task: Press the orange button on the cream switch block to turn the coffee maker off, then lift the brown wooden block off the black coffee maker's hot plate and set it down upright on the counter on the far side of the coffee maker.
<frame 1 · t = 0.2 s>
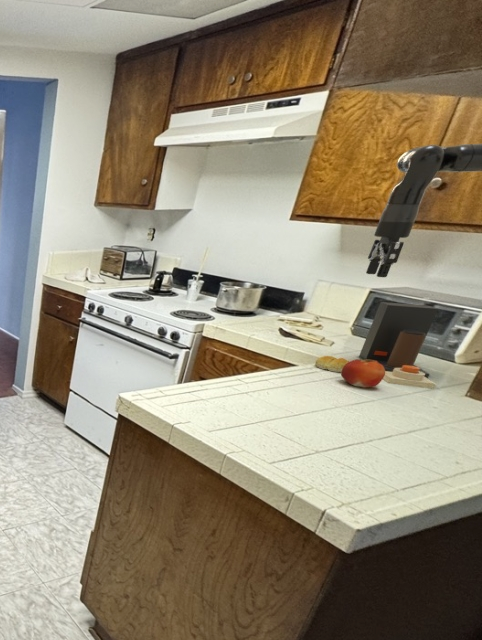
hand: (375, 275, 146), 30 cm above the counter, tool pointing down, fingers open, 8 cm apart
bread roll: (332, 369, 153), on the counter
coffee maker: (392, 369, 154), on the counter
tomato: (357, 385, 139), on the counter
power button: (410, 369, 141), point 4 cm above the counter, slide at 0.1 cm
brown wooden block: (398, 366, 151), point 2 cm above the counter, touching coffee maker
switch block: (404, 382, 142), on the counter
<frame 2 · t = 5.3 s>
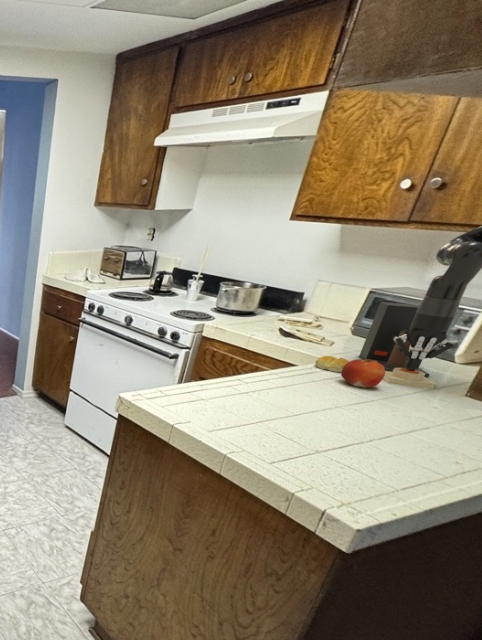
hand: (409, 369, 141), 4 cm above the counter, tool pointing down, fingers closed
power button: (408, 372, 141), point 3 cm above the counter, slide at -0.8 cm, touching gripper
everything else where it was.
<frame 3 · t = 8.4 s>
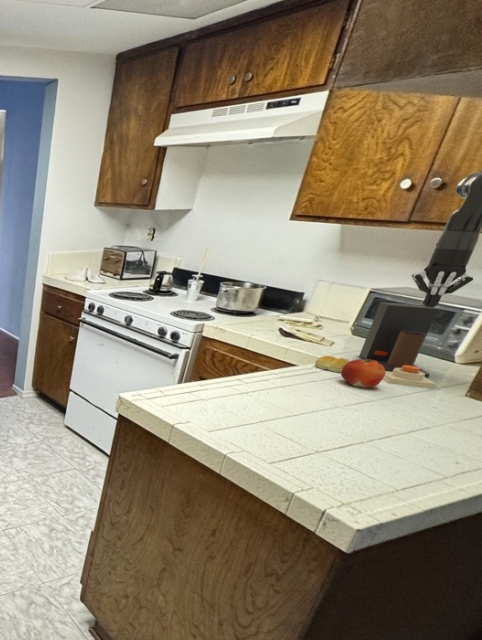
hand: (429, 306, 141), 22 cm above the counter, tool pointing down, fingers closed
power button: (410, 369, 141), point 4 cm above the counter, slide at 0.1 cm
everything else where it was.
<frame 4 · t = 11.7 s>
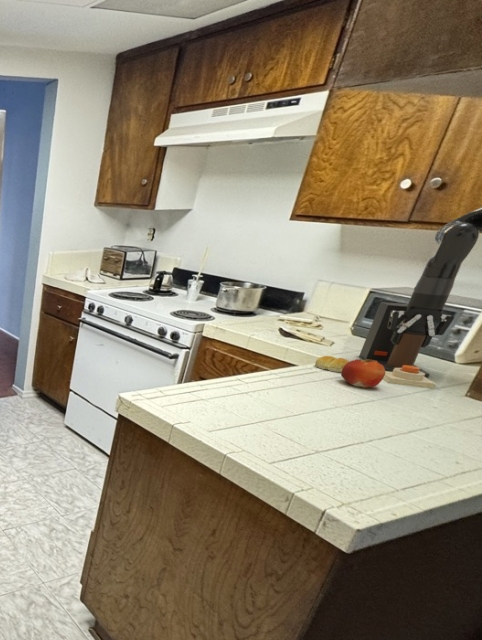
hand: (408, 345, 148), 9 cm above the counter, tool pointing down, fingers closed on brown wooden block, 6 cm apart
brown wooden block: (398, 366, 151), point 2 cm above the counter, touching coffee maker, gripper
everything else where it was.
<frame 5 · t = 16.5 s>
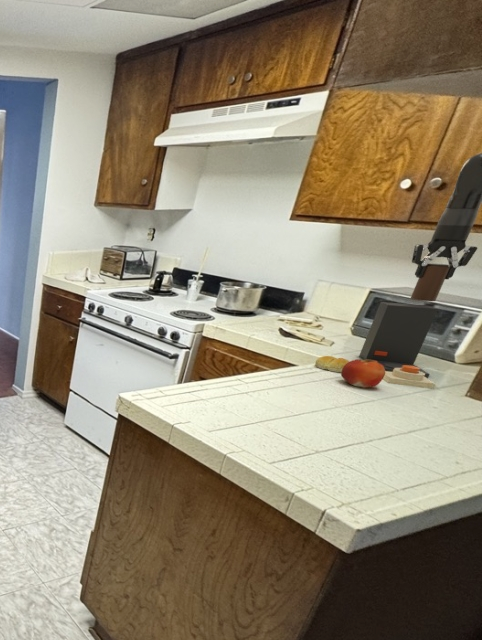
hand: (432, 278, 153), 28 cm above the counter, tool pointing down, fingers closed on brown wooden block, 6 cm apart
brown wooden block: (422, 299, 156), point 21 cm above the counter, touching gripper
everything else where it was.
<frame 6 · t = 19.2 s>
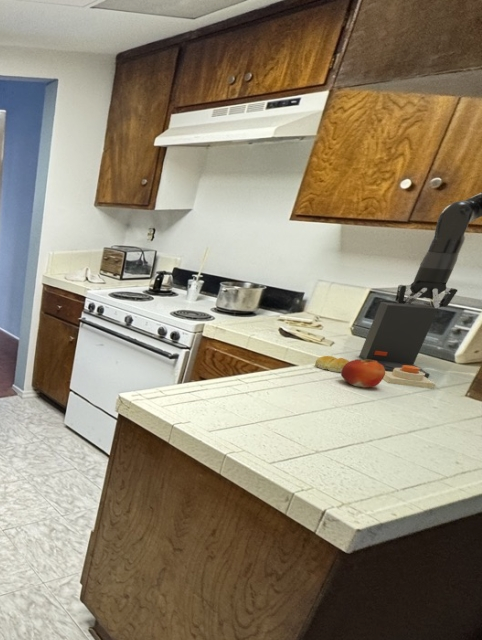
hand: (414, 317, 159), 15 cm above the counter, tool pointing down, fingers closed on brown wooden block, 6 cm apart
brown wooden block: (405, 337, 162), point 8 cm above the counter, touching gripper
everything else where it was.
when the fingers open (7 cm above the counter, at t = 21.5 s): brown wooden block stays where it is, on the counter.
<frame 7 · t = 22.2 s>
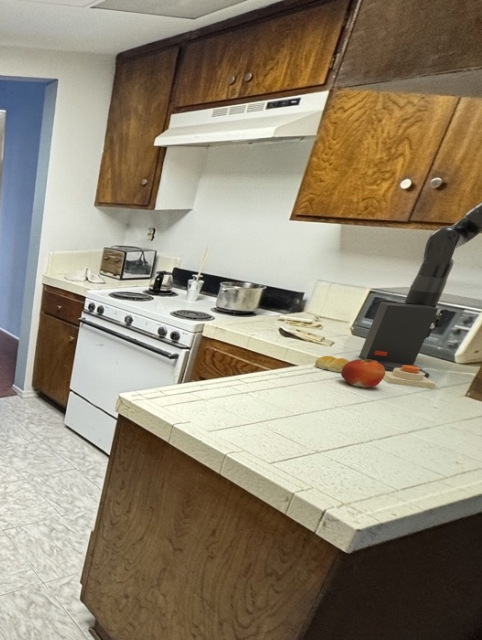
hand: (406, 336, 162), 8 cm above the counter, tool pointing down, fingers open, 8 cm apart
brown wooden block: (396, 359, 165), on the counter
everything else where it was.
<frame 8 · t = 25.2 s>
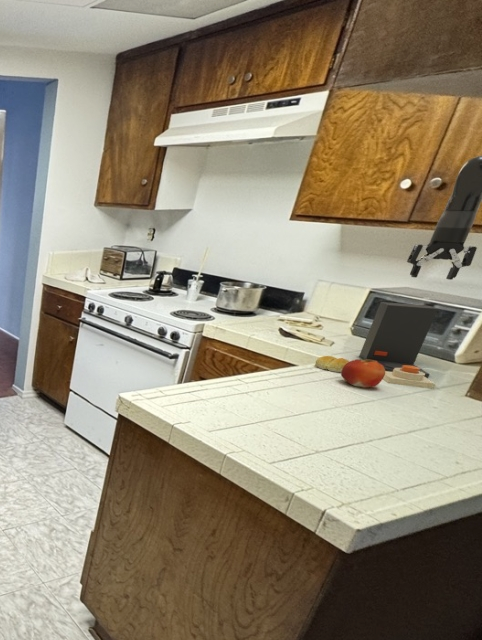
hand: (431, 278, 154), 28 cm above the counter, tool pointing down, fingers open, 8 cm apart
nothing on the counter moved.
at the end: power button pushed in 1.1 cm at the most during the clip, back to where it started at the end; brown wooden block inside the target area (0.1 cm from its centre), on the counter; brown wooden block tilted 0° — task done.
